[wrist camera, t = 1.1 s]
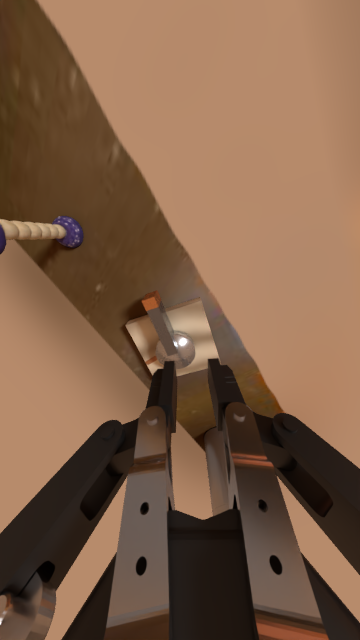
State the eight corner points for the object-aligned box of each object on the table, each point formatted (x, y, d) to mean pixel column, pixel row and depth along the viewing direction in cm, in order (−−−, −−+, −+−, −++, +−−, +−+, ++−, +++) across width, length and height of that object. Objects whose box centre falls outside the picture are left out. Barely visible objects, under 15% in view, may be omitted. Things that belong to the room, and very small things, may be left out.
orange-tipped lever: (199, 356, 32) (201, 370, 28) (165, 366, 33) (163, 380, 29) (172, 284, 26) (171, 290, 23) (132, 298, 27) (125, 306, 24)
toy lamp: (90, 246, 26) (-36, 249, 11) (65, 255, 27) (-88, 272, 12) (73, 211, 24) (-108, 158, 9) (46, 223, 25) (-166, 190, 10)
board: (219, 358, 35) (221, 365, 33) (157, 375, 37) (155, 382, 35) (199, 297, 29) (201, 301, 27) (128, 320, 31) (124, 326, 29)
